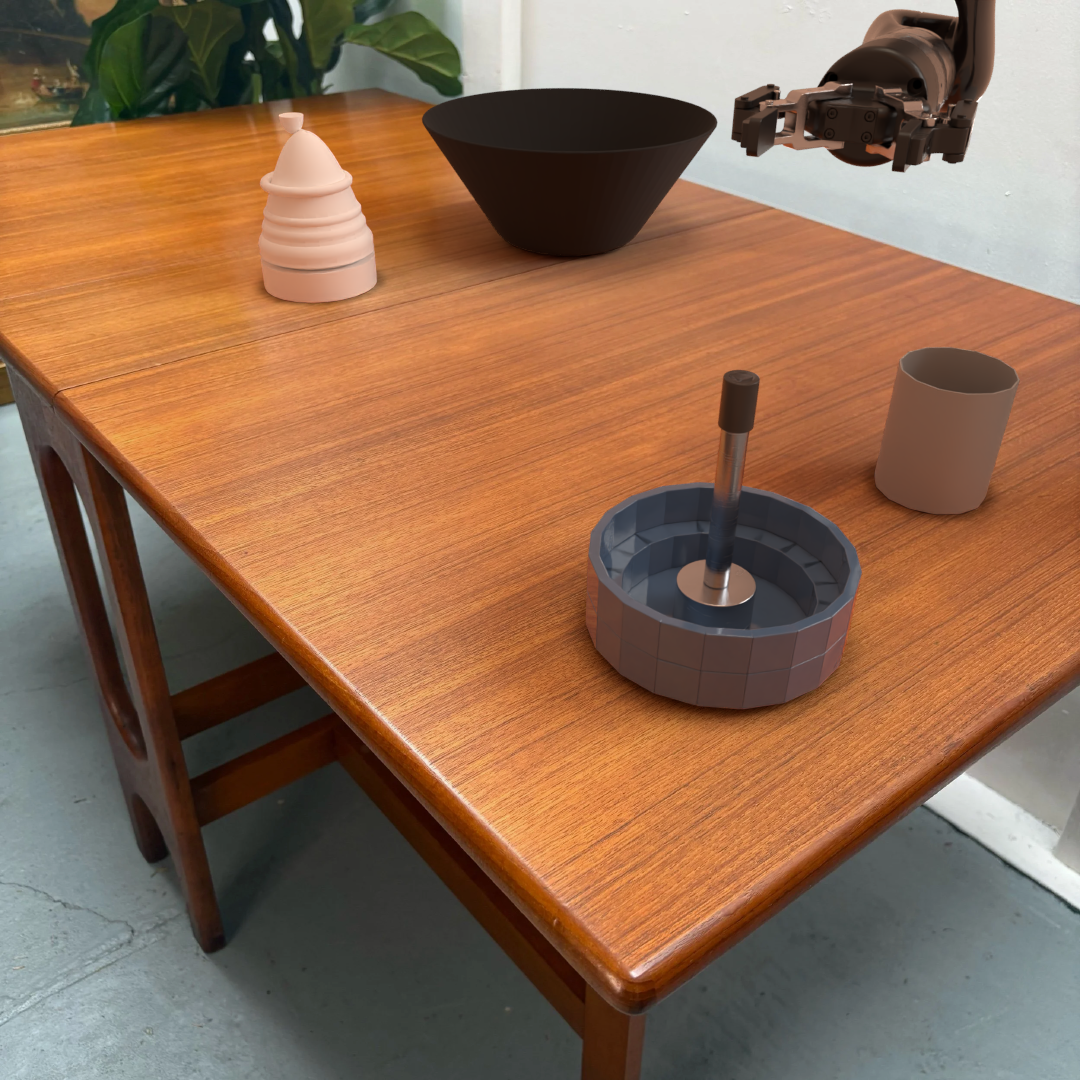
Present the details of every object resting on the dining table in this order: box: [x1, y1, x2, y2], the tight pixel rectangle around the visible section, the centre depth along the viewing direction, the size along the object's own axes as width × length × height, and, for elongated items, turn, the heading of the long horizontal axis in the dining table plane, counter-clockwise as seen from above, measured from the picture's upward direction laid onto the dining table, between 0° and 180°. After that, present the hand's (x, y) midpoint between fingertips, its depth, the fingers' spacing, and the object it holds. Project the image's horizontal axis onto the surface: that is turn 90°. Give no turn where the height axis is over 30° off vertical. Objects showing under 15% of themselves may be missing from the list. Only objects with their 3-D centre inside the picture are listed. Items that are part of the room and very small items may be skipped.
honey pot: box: [257, 111, 378, 304], centre depth 113 cm, size 13×13×18 cm
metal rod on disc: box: [673, 369, 761, 630], centre depth 61 cm, size 5×5×17 cm
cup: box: [873, 346, 1021, 515], centre depth 78 cm, size 8×8×10 cm
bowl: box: [421, 87, 718, 257], centre depth 127 cm, size 36×36×15 cm
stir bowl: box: [585, 481, 863, 710], centre depth 64 cm, size 16×16×6 cm
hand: (824, 146), depth 59 cm, fingers open, 8 cm apart
